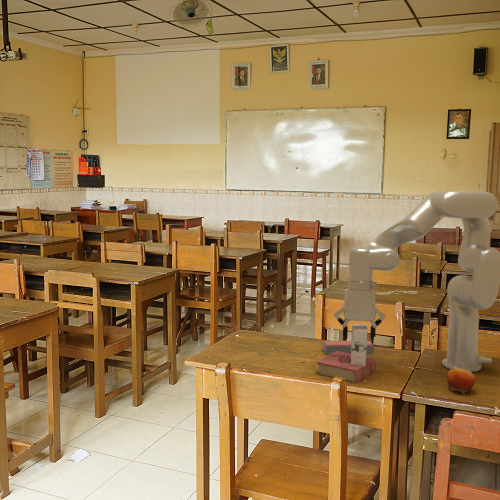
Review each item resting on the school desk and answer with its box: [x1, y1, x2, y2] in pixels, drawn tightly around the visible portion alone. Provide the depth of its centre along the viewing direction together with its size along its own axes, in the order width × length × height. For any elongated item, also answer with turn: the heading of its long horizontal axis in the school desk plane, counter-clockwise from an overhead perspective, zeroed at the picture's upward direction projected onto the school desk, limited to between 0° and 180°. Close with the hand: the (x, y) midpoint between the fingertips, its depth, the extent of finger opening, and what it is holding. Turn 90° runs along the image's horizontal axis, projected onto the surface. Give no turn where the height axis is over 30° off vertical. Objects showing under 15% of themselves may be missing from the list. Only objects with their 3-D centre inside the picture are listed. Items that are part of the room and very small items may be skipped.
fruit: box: [446, 368, 477, 396], centre depth 163 cm, size 8×8×8 cm
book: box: [316, 351, 377, 384], centre depth 179 cm, size 14×15×5 cm
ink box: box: [350, 323, 369, 366], centre depth 177 cm, size 9×5×12 cm, turn 170°
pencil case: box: [322, 339, 375, 355], centre depth 202 cm, size 18×6×3 cm, turn 93°
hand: (359, 338), depth 176 cm, fingers open, 7 cm apart
